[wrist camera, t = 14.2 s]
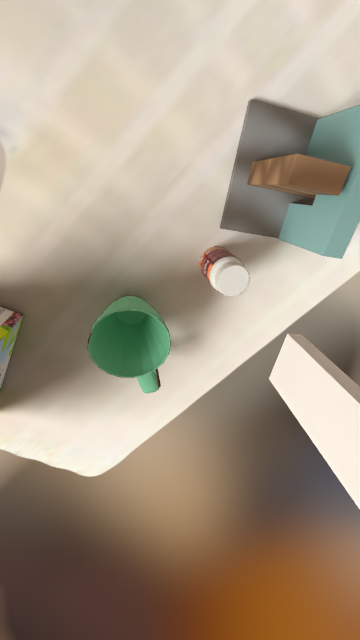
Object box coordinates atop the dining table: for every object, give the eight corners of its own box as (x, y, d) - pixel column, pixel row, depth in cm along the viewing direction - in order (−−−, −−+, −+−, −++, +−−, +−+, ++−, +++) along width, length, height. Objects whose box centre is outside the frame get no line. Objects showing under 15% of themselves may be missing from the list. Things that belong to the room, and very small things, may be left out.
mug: (86, 291, 37) (71, 325, 28) (151, 270, 37) (156, 297, 28) (124, 367, 44) (121, 412, 35) (178, 349, 44) (189, 390, 35)
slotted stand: (248, 101, 29) (302, 62, 20) (387, 141, 34) (484, 124, 24) (219, 227, 36) (250, 243, 26) (340, 247, 40) (403, 267, 31)
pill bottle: (194, 253, 37) (209, 270, 29) (225, 241, 37) (248, 255, 29) (203, 282, 39) (220, 305, 32) (233, 271, 39) (256, 291, 32)
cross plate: (317, 119, 31) (390, 94, 22) (334, 124, 31) (412, 101, 23) (278, 238, 37) (322, 255, 28) (293, 241, 37) (341, 258, 29)
